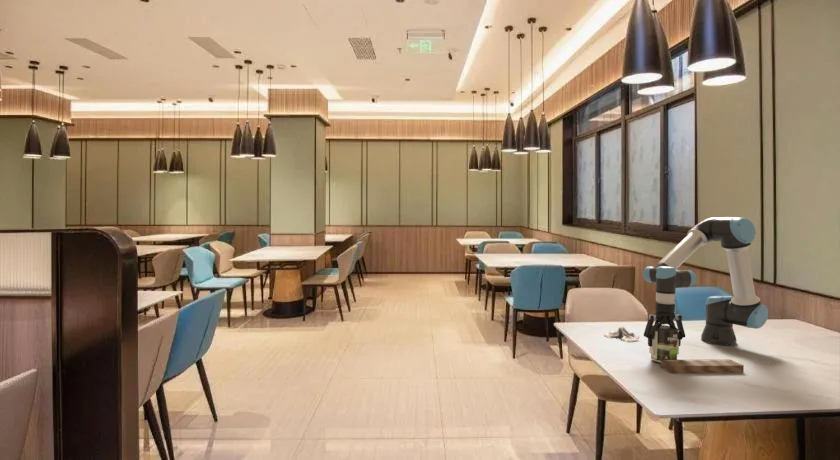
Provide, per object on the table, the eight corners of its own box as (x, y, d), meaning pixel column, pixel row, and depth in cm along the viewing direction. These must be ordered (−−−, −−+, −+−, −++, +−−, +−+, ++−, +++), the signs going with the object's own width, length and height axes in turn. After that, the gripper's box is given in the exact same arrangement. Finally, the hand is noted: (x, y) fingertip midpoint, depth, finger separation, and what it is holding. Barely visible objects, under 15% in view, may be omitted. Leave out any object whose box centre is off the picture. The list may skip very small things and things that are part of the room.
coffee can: (682, 361, 206) (683, 328, 205) (666, 365, 201) (667, 331, 200) (660, 355, 215) (661, 323, 214) (645, 358, 210) (646, 326, 210)
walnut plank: (729, 366, 203) (729, 359, 203) (743, 372, 195) (743, 365, 195) (660, 366, 201) (660, 359, 201) (671, 373, 193) (671, 365, 193)
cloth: (636, 345, 236) (637, 332, 236) (598, 338, 248) (598, 327, 248) (648, 336, 254) (648, 324, 254) (611, 330, 265) (612, 319, 265)
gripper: (685, 300, 211) (684, 350, 212) (635, 300, 210) (634, 351, 211) (696, 304, 204) (694, 355, 205) (644, 304, 203) (643, 356, 203)
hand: (663, 353), depth 208 cm, fingers closed on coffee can, 10 cm apart
